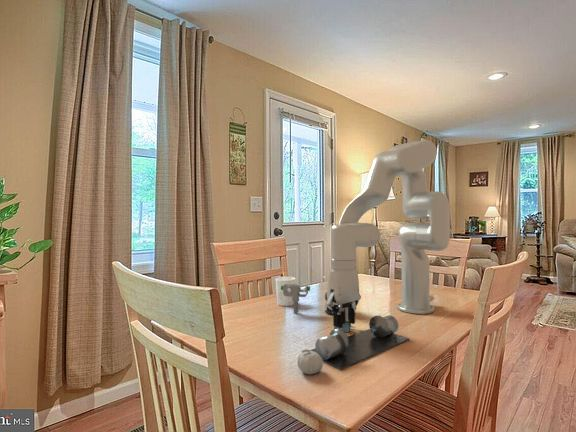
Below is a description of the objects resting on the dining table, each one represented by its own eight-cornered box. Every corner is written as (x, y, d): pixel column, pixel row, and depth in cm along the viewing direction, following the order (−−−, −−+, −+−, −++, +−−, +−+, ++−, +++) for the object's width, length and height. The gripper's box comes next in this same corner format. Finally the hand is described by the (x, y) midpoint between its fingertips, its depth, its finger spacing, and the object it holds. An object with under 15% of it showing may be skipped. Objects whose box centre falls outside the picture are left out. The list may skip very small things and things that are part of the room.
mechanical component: (309, 315, 120) (309, 286, 120) (280, 313, 122) (280, 285, 122) (310, 312, 123) (310, 284, 123) (282, 311, 125) (282, 283, 125)
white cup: (272, 305, 133) (272, 279, 133) (280, 300, 140) (280, 275, 140) (291, 307, 130) (291, 281, 130) (298, 302, 137) (298, 277, 137)
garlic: (293, 375, 77) (292, 352, 77) (301, 365, 82) (300, 343, 82) (319, 380, 74) (318, 356, 74) (325, 369, 80) (325, 346, 79)
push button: (357, 329, 105) (357, 297, 105) (351, 335, 101) (351, 301, 100) (337, 326, 108) (337, 294, 108) (330, 331, 104) (330, 298, 104)
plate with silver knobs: (374, 328, 106) (374, 307, 105) (409, 340, 96) (409, 317, 96) (306, 353, 88) (305, 328, 88) (340, 370, 79) (340, 342, 79)
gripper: (352, 260, 112) (353, 316, 113) (314, 266, 102) (315, 327, 102) (371, 263, 106) (371, 321, 107) (333, 270, 96) (333, 334, 96)
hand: (344, 324), depth 104 cm, fingers open, 4 cm apart
